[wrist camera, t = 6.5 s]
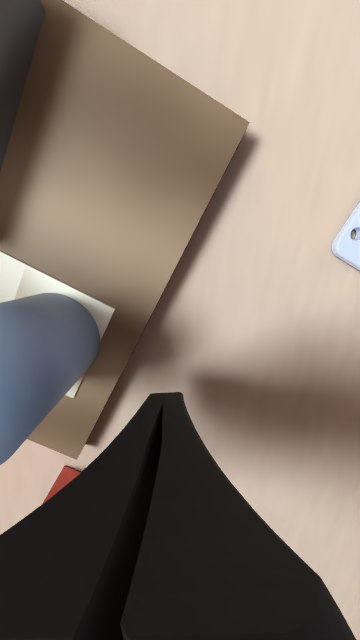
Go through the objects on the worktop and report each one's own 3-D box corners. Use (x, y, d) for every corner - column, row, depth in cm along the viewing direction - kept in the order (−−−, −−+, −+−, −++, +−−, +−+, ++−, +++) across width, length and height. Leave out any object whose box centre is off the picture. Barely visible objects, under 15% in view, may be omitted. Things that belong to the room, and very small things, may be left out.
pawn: (27, 275, 9) (-137, 291, 5) (114, 320, 10) (48, 377, 5) (-1, 353, 10) (-163, 435, 5) (80, 390, 11) (-4, 496, 6)
